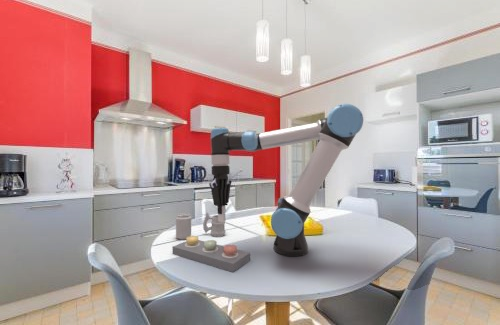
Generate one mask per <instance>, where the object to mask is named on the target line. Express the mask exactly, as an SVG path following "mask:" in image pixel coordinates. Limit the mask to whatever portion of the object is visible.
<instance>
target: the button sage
mask: <svg viewBox="0 0 500 325" xmlns="http://www.w3.org/2000/svg"><path fill="white" fill-rule="evenodd" d="M217 245H218V244H217V241H216V240H214V239H209V240H205V242H204V248H205V249H215V248H216V247H217Z"/></svg>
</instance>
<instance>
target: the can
mask: <svg viewBox="0 0 500 325" xmlns="http://www.w3.org/2000/svg"><path fill="white" fill-rule="evenodd" d="M189 236H192V216H191V214H190V213H187V212H184V213H182V212H181V213H178V214H177V216H176V218H175V238H176V239H178V240H182V241H183V240H187V237H189Z"/></svg>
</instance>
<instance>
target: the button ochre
mask: <svg viewBox="0 0 500 325" xmlns="http://www.w3.org/2000/svg"><path fill="white" fill-rule="evenodd" d="M198 240H199V236H197V235H191V236H189V237H187V239H186V241H185V242H186V243H187V244H190V245H192V244H197V243H198Z"/></svg>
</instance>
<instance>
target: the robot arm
mask: <svg viewBox="0 0 500 325" xmlns="http://www.w3.org/2000/svg"><path fill="white" fill-rule="evenodd" d="M363 126H364V116H363V113H362V111H361V110H360V109H359V107H357V106H356V105H354V104H350V103H342V104H338V105H336V106H335V107H333V108H332V109H331V110H330V111H329V113H328V115H327V117H324V118H320V119H318V120H316V121H315V122H311V123H307V124H301V125H297V126H292V127H291V126H290V127H286V128H280V129H274V130H270V131H264V132H260V133H259V132H258V133H256V131H249V130H246V131H238V132H237V131H236V132H230V131H229V129H228V128H227V127H215V128H212V129H211V130H210V150H211V151H210V152H211V153H210V156H211V165H212V166H211V175H213V178H212V180H213V181H212V182H209V183H208V185H209V188H210V190H211V196H212V202H213V206H215V207H217V215H218V221H220V222H225V223H226V206H228V204H229V203H230V202H229V201H230V195H231V194H230V192H231V186H232V180H229V177H228V175H230V173H231V172H230V169H231V168H230V166H229V165H230V163H231V162H230V152H231V151H233V152H234V151H243V152H244V151H246V152H249V153H254V152H258V151H261V150H267V149H272V148H273V149H274V148H278V147H280V148H281V147H285V146H290V145H295V144H296V145H297V144H301V143H309V142H314V141H318V143H317V144H316V146H315V148H314V150H313V151H312V154H311V155H310V156H309V159H308V160H307V162H306V164H305V166H304V168H303V169H302V171H301V173H300V174H299V176H298V178H297V180H296V182H295V184H294V186H292V187H293V188H292V189H291V191H290V192H289V194H287V195H284V196H282V197H279V198H278V200H277V203H276V204H277V207H276V209H275V211H274V212H273V213H272V215H271V218H270V227H271V229H272V231H273V233H274V234H275V238H274V241H273V251H274V252H275V253H277V254H279V255H282V256H285V257H286V256H287V257H301V256H305V255H307V254H308V252H309V250H308V249H309V245H308V241H307V239H306V236H305V222H306V221H307V219H308V217H309V215H310V214H311V209H310V208H311V207H310V205H311V204H312V202H313V200H314V199H315V196H316V195H317V193H318V192H319V190H320V188H321V187H322V184H324V181H325V179H326V178H327V176H328V174H329V173H330V172H331V169H332V167H333V166H334V164H335V162H336V161H337V159H338V157H339V155H340V154H341V152H342V151H343V150H346V149H348V148H350V145H351V144H352V142H353V140H354V139H355V137H356V135H357V134H358V133H359V132H360V131H361V130H362V128H363Z"/></svg>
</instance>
